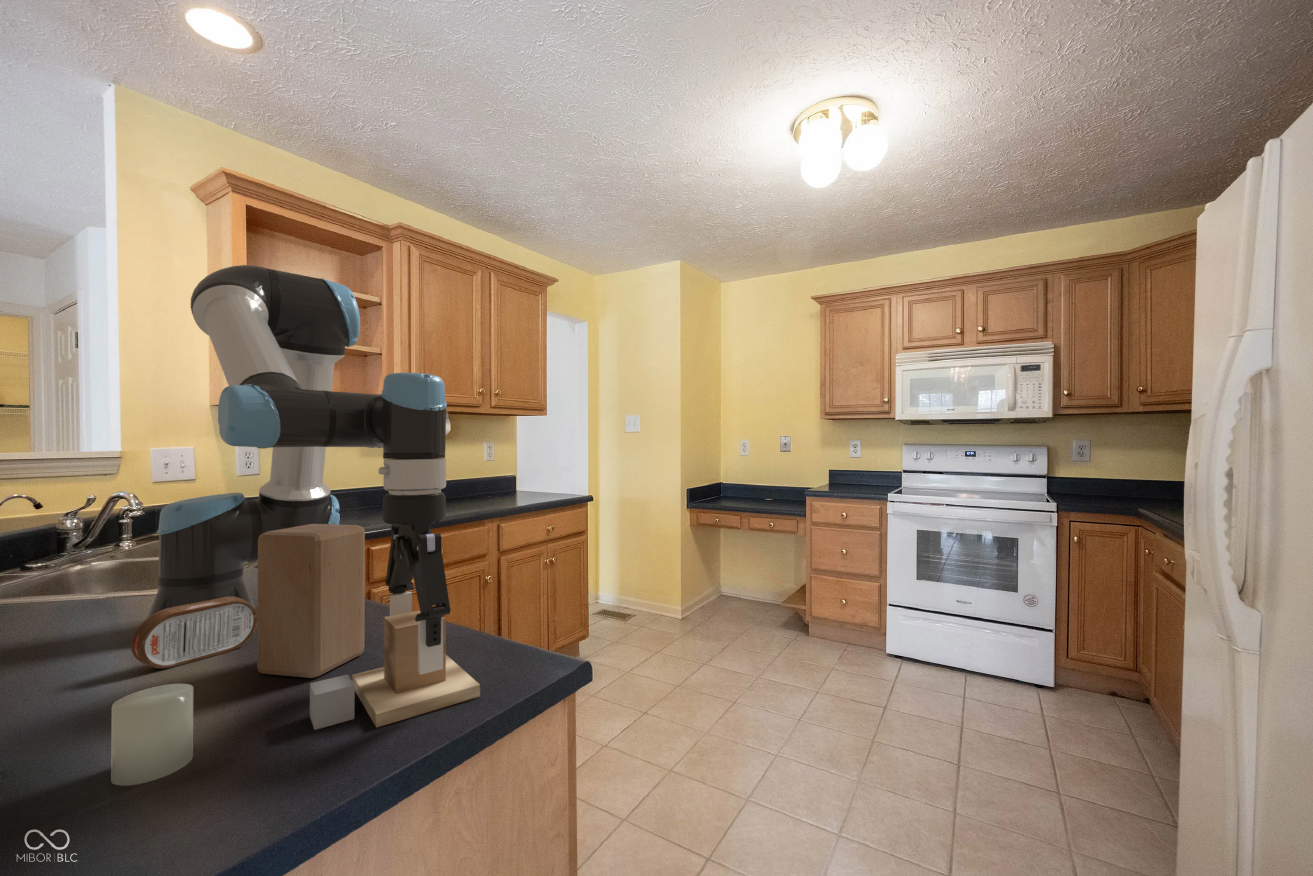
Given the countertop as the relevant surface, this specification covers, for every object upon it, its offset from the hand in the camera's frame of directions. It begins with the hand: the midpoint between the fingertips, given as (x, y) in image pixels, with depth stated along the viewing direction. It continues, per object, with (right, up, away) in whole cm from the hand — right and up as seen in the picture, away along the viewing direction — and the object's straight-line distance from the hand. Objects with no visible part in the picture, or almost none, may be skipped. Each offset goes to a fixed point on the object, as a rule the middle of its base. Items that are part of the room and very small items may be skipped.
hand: (414, 654), depth 71 cm
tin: (-38, -5, +12) cm, 40 cm away
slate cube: (-7, -5, -7) cm, 11 cm away
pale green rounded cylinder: (-19, -5, -17) cm, 25 cm away
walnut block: (0, -3, 0) cm, 3 cm away
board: (0, -5, 0) cm, 5 cm away
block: (-19, -5, +9) cm, 22 cm away
